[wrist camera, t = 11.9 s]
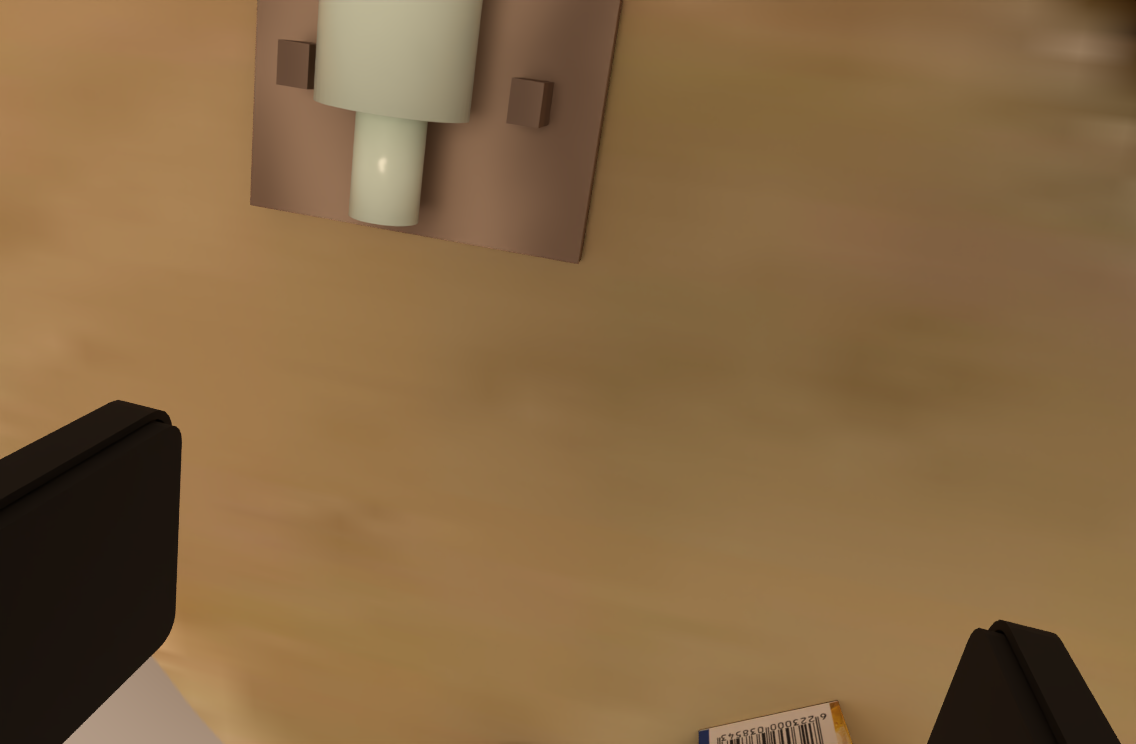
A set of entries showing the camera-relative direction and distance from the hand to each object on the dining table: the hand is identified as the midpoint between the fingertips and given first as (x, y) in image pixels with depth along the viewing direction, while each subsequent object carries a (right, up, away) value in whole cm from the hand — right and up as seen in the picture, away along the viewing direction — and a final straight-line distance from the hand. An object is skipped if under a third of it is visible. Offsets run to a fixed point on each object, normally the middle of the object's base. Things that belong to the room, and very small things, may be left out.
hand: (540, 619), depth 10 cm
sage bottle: (-5, +16, +24) cm, 29 cm away
